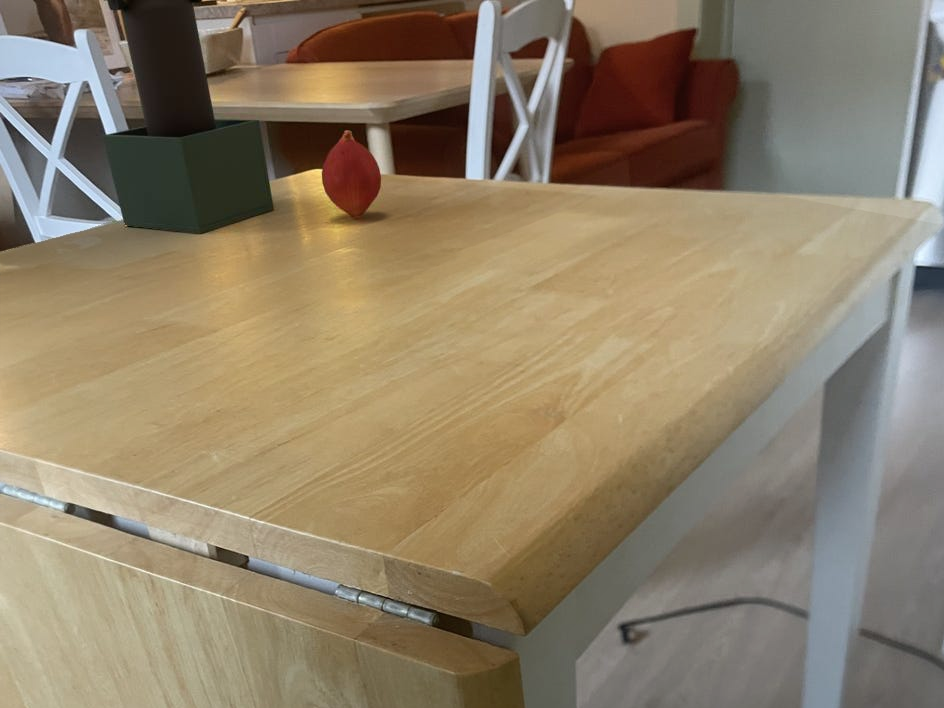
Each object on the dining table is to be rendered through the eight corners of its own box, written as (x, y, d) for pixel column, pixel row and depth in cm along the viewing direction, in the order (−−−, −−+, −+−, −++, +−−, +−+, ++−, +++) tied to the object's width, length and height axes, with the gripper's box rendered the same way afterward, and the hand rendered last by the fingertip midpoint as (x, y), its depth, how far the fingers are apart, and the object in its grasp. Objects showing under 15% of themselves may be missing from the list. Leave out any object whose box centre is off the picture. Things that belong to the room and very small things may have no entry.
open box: (200, 233, 100) (180, 138, 95) (124, 226, 105) (102, 135, 100) (274, 209, 107) (259, 119, 102) (200, 203, 112) (182, 118, 108)
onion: (315, 221, 101) (302, 133, 97) (354, 209, 105) (344, 124, 100) (358, 227, 98) (346, 136, 93) (396, 214, 102) (388, 126, 97)
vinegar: (238, 172, 104) (196, -63, 93) (190, 185, 100) (139, -60, 89) (193, 169, 108) (146, -58, 96) (144, 181, 103) (89, -55, 92)
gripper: (188, -234, 91) (228, -2, 102) (-11, -237, 84) (53, 14, 94) (217, -249, 86) (256, -2, 96) (8, -253, 79) (74, 15, 89)
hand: (156, 4), depth 95 cm, fingers closed on vinegar, 6 cm apart
